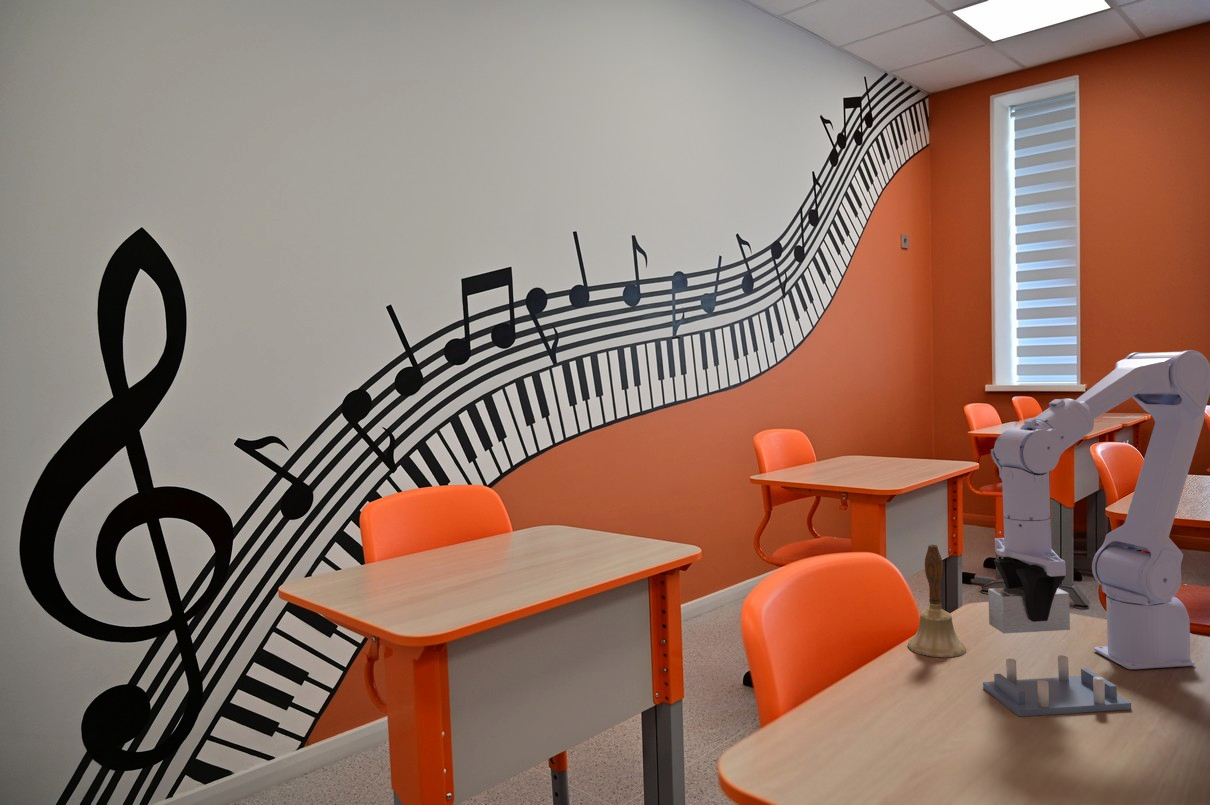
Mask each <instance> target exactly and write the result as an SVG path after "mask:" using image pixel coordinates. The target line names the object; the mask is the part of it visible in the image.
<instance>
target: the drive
mask: <svg viewBox="0 0 1210 805" xmlns="http://www.w3.org/2000/svg"><path fill="white" fill-rule="evenodd" d="M987 591H988V592H987V596H988V624H989V625H990V626H992V628H994V629H996V630H998V631H999V632H1001V634H1017V633H1018V634H1020V633H1021V634H1022V633H1034V632H1035V633H1040V632H1054V631H1056V632H1057V631H1070V630H1071V620H1070V619H1071V617H1070V613H1071V610H1070V593H1069V592H1067V591H1065V590H1063V589H1061V588H1059V587H1058V589H1057V591H1056V593H1055V596H1054V599H1053V602H1052V605H1051V609H1050V613H1049V617H1048V620H1047V621H1038V622H1033V621H1031V620H1030V618H1029V615H1028V610H1027V603H1026V596H1025V592H1024V588H1023V587H1012V588H1006V587H996V588H995V587H994V588H988V589H987Z"/></svg>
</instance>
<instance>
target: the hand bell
mask: <svg viewBox="0 0 1210 805" xmlns="http://www.w3.org/2000/svg"><path fill="white" fill-rule="evenodd" d="M927 547H928V548H927V551H926V554H925V559H924V573H925V577H926V579H927V583H928V588H929V589H928V590H929V593H928V594H929V607H928V609H924V610H922V611H921V612H920V614H919V624H918V628H917V630H916V633H915V634H914V636H913V637H912V638H911V639H909V640H908V643H907V647H909V648H908V649H909V650H910V649H911V650H910V651H912V652H913V651H914V653H915V652H916V653H915V654H917V655H918V654H919V655H921V654H923V655H922V656H924V655H926V657H929V656H930V657H931V658H938V657H942V659H944V658H945V659H947V658H946V657H952V658H956V657H960V656H963V655H964V654H965V653H966V652H967V648H966V646H965V644H964V643H963V642H962V641H961V640H960V639H959V638H958V636H957V634H956V631H955V628H954V623H953V617H952V614H951V613H950V612H948V611H946V610H945V609H943V607H942V594H941V582H942V578H943V575H944V574H943V573H944V565H943V564H944V563H943V559H942V555H941V553H940V551H939V547H938V545H937V544H928V545H927ZM943 657H944V658H943Z"/></svg>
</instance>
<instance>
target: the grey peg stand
mask: <svg viewBox="0 0 1210 805" xmlns="http://www.w3.org/2000/svg"><path fill="white" fill-rule="evenodd" d="M1005 666H1006V667H1005V668H1006V669H1005V670H1006V677H1005V676H1004V675H1003V674H1001V673H994V674H993V675H994V676H993V677H994V678H993V679H994V680H993V681H991V680H990V681H982V687H983V689H984V690H986V691H987V692H988V693H989V694H990V695H992V696H993V697H994V698H995V699H997V700H998V701H999V702H1000V703H1002V704H1003V705H1004V706H1006V707H1007V709H1009V710H1011V711H1012V712H1013V713H1015V715H1017V716H1018V717H1030V716H1032V717H1034V716H1048V715H1063V714H1079V713H1080V714H1081V713H1095V712H1111V711H1126V710H1127V711H1129V710H1132V702H1130V701H1128V700H1127V699H1125V698H1124V697H1122V696H1121V695H1119V694H1118V692H1117V685H1116V684H1114V683H1112V682H1111V681H1109V680H1108V679H1106V678H1104V677H1102V676H1100V675H1099V674H1098V673H1096V672H1094V671H1092V670H1091V669H1089V668H1087V667H1085V668H1080V675H1073V676H1070V674H1069V672H1070V671H1069V670H1070V669H1069V657H1068V656H1066V655H1061V654H1060V655H1057V674H1058V677H1042V678H1041V677H1039V678H1024V679H1018V676H1017V674H1018V672H1017V659H1014V658H1006V659H1005Z"/></svg>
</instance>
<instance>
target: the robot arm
mask: <svg viewBox="0 0 1210 805" xmlns="http://www.w3.org/2000/svg"><path fill="white" fill-rule="evenodd" d="M1131 398H1132V399H1133V400H1134V401H1135V402H1136V403H1137V404H1138V405H1139V406H1140V407H1141V408H1142V409H1143V410H1144V411H1145V412H1146V413H1149V414H1150V415H1151V417H1152V418H1153V420H1154V426H1153V429H1152V432H1151V435H1150V440H1149V441H1148V442H1149V443H1148V446H1147V449H1146V452H1145V455H1144V459H1143V463H1142V465H1141V469H1140V472H1139V475H1138V479H1137V481H1136V484H1135V485H1136V486H1135V488H1134V490H1133V491H1134V492H1133V495H1132V498H1131V501H1130V504H1129V507H1128V511H1127V514H1126V518H1125V520H1124V523H1123V524H1122V525H1121V526H1118V527H1117V528H1115V529H1113V530H1111V531H1110V532H1108V533H1107V534H1106V535H1105V538H1104V541H1103V544H1102V545H1101V546H1100V547H1099V549H1098V550H1097V551H1096V552H1095V553H1094V556H1093V559H1092V563H1091V570H1092V575H1093V577H1094V579H1095V581H1096V582H1097V583H1099V585H1101V592H1102V593H1105V594H1106V595H1105V596H1106V597H1105V598H1106V600H1105V601H1106V630H1107V631H1106V634H1107V636H1106V638H1107V645H1104V646H1094V647H1093V651H1094V652H1096V653H1097V654H1100V655H1101V656H1104V657H1105V658H1106V659H1109V660H1111V661H1113V662H1115V664H1119V665H1120V666H1122V667H1123V668H1126V669H1127V670H1143V669H1144V670H1145V669H1156V668H1157V669H1158V668H1159V669H1160V668H1161V669H1162V668H1174V667H1176V668H1177V667H1189V666H1190V667H1191V666H1195V663H1196V662H1195V661H1194V660H1192V659H1191V630H1190V629H1191V628H1190V626H1191V624H1190V622H1191V621H1190V616H1189V612H1188V610H1187V608H1186V606H1185V604H1184V603H1183V602H1182V601H1181V600H1180V599H1179V598H1177V597H1176V595H1177V593H1178V592H1179V590H1180V587H1181V585H1182V569H1181V568H1182V561H1183V557H1184V553H1183V552H1182V551H1181V550H1180V548H1179V547H1178V546H1177V544H1175V542H1174V541H1173V540H1172V539H1171V538H1170V534H1171V531H1172V527H1173V524H1174V521H1175V517H1176V514H1177V511H1178V508H1179V504H1180V501H1181V497H1182V494H1183V491H1184V488H1185V484H1186V481H1187V478H1188V475H1189V471H1190V468H1191V465H1192V462H1193V457H1194V455H1195V451H1196V448H1197V444H1198V441H1199V438H1200V436H1201V435H1200V434H1201V431H1202V428H1203V425H1204V421H1205V413H1206V408H1207V406H1208V401H1209V399H1210V362H1209V360H1208V359H1207V358H1206V356H1205V355H1204V354H1203V353H1202V352H1200V351H1197V350H1193V349H1190V350H1183V351H1164V352H1163V351H1162V352H1142V351H1139V352H1138V351H1137V352H1136V351H1135V352H1132V353H1130V354H1128V355H1127V356H1126V357H1125V358H1123V359H1121V360H1119V361H1116V363H1115V365H1114V370H1112V371H1110V373H1108V374H1107V375H1106V376H1104V377H1103V378H1102V379H1101V380H1100V381H1098V382H1097V383H1095V384H1094V385H1092V387H1090V388H1089V389H1088V390H1087V391H1085V392H1084V393H1083V394H1081V395H1080V396H1079V397H1077V398H1076V399H1073V398H1061V399H1059V398H1058V399H1057V398H1054V399H1053V400H1051V401H1050V402H1049V403H1048V405H1049V407H1048V408H1047V409H1045V410H1044V411H1042V412H1041V413H1039V414H1038V415H1037V416H1035V417H1033V418H1028V419H1026V420H1025V421H1024V422H1023V425H1021V427H1020V428H1009V429H1006V430H1005V431H1003V432H1002V433H1001V434H1000V435H999V436H998V437H997V438H996V440H995V442H994V448H992V449H990V453H991V454H990V455H991V458H992V461H993V463H995V465H996V467H997V468H998V471H999V474H998V476H999V478H1000V479H1001V481H1002V485H1001V486H1002V507H1003V508H1002V511H1003V512H1002V514H1003V536H1004V537H998V538H995V537H994V551H995V552H996V553H995V554H996V555H998V556H1000V557H1002V558H995V559H994V560H993V563H994V566H995V567H996V569H997V570H998V572H999V574H1000V576H1001V578H1002V581H1003V583H1004V585H1005V586H1004V587H1005V588H1012V587H1023V588H1024V592H1025V596H1026V603H1027V610H1028V615H1029V618H1030V620H1031V621H1033V622H1038V621H1047V620H1048V617H1049V613H1050V609H1051V605H1052V602H1053V599H1054V596H1055V593H1056V591H1057V589H1058V588H1059V587H1060V585H1061V584H1062V582H1063V581H1064V580H1065V579H1066V575H1067V573H1066V571H1067V569H1066V560H1064V559H1062V558H1060V557H1059V555H1058V554H1057V553H1056V552H1055V551H1054V550H1053V549H1052V528H1051V527H1052V526H1051V525H1052V524H1051V523H1052V522H1051V491H1050V489H1051V488H1050V484H1051V483H1050V471H1053V470H1054V469H1055V468H1056V467H1057V466H1058V463H1059V461H1060V457H1061V455H1062V454H1063V453H1065V451H1066V450H1068V448H1070V447H1072V446H1073V445H1074V444H1077V442H1079V441H1080V440H1082V439H1083V438H1084V437H1086V436H1088V435H1090V433H1091V432H1092V431H1093V429H1094V426H1095V419H1097V418H1099V417H1101V416H1102V415H1104V414H1105V413H1107V412H1109V411H1110V410H1112V409H1114V408H1115V407H1118V406H1119V405H1121V404H1122V403H1124V402H1125V401H1127V400H1129V399H1131ZM1139 550H1140V551H1139ZM1144 551H1145V552H1144ZM1147 552H1150V553H1147Z"/></svg>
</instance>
